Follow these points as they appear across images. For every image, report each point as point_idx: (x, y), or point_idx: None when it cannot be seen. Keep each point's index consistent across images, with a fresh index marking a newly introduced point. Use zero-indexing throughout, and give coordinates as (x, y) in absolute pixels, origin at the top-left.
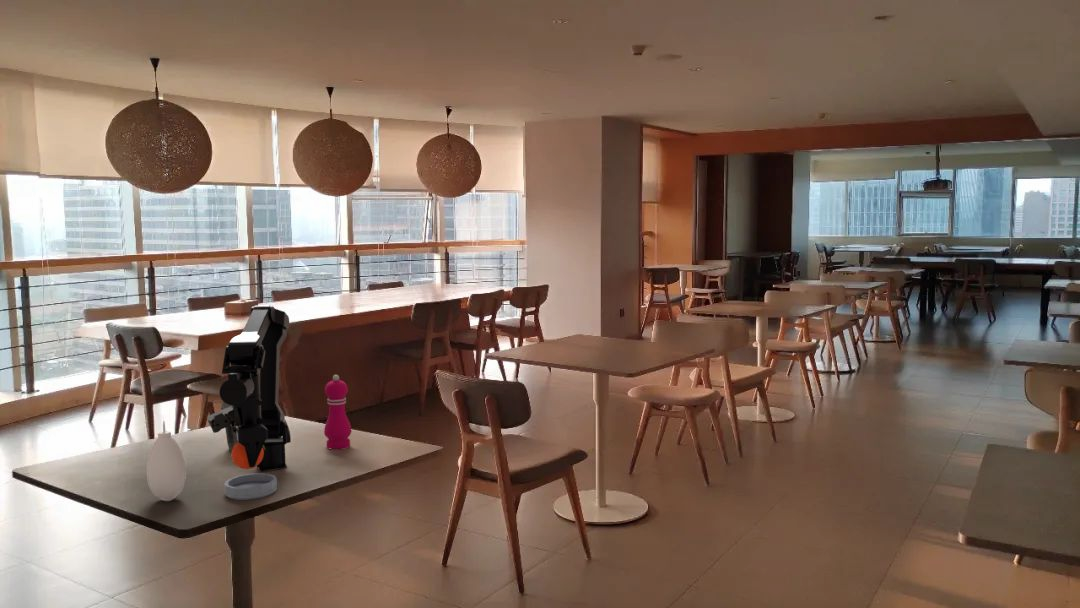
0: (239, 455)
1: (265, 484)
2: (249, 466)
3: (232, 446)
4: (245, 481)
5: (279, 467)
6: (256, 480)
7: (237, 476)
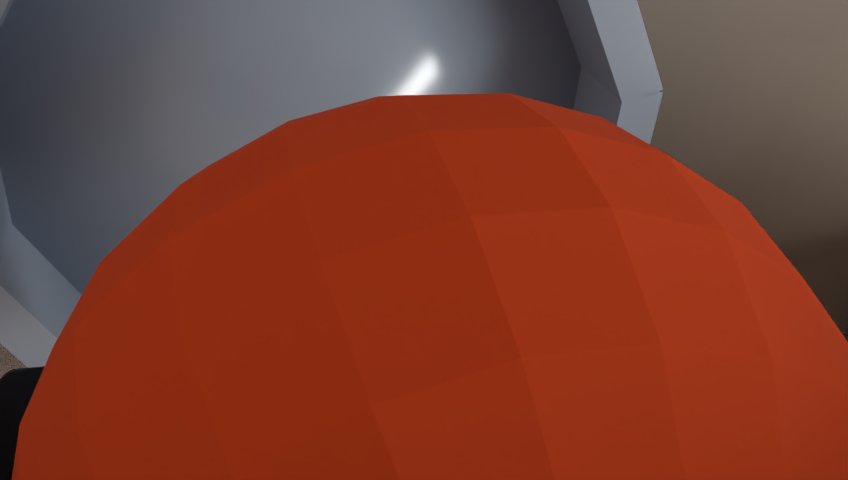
0: (75, 390)
1: (37, 347)
2: (7, 374)
3: None
4: (580, 100)
5: None
6: None
7: (637, 33)
